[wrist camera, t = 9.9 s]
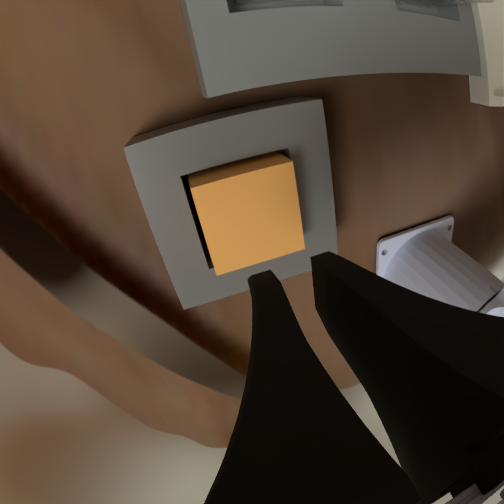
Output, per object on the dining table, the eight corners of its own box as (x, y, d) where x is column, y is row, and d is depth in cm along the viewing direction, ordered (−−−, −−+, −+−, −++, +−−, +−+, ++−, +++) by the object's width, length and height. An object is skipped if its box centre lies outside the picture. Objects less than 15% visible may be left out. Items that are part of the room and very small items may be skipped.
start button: (285, 223, 18) (304, 248, 15) (208, 245, 17) (216, 275, 15) (271, 148, 16) (292, 161, 13) (186, 170, 15) (190, 188, 13)
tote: (526, 103, 19) (541, 107, 17) (470, 101, 18) (489, 106, 16) (503, -39, 11) (518, -40, 9) (434, -74, 10) (451, -79, 8)
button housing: (317, 237, 20) (338, 261, 18) (180, 279, 19) (183, 309, 17) (297, 96, 16) (321, 99, 13) (131, 137, 15) (123, 147, 12)
